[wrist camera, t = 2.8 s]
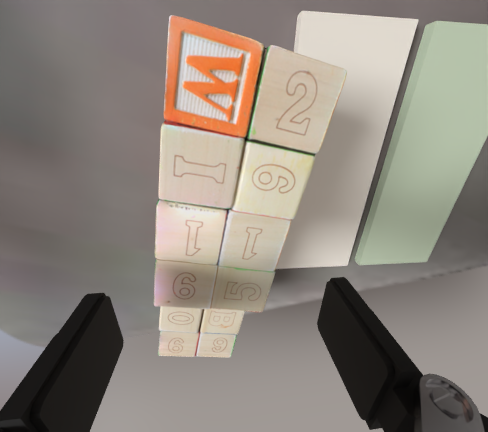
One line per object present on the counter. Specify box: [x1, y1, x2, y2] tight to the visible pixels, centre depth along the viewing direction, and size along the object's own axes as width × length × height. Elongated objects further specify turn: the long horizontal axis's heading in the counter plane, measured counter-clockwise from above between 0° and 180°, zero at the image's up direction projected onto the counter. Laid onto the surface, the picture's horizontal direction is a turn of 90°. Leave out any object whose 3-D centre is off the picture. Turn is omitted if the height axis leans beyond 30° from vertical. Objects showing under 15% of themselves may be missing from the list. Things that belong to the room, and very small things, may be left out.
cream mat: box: [276, 11, 419, 269], centre depth 21 cm, size 9×23×1 cm, turn 179°
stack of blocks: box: [154, 15, 347, 357], centre depth 17 cm, size 21×6×12 cm, turn 167°
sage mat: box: [355, 21, 488, 265], centre depth 22 cm, size 9×23×1 cm, turn 179°
